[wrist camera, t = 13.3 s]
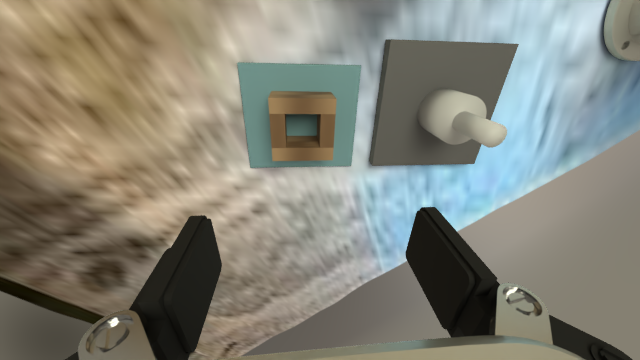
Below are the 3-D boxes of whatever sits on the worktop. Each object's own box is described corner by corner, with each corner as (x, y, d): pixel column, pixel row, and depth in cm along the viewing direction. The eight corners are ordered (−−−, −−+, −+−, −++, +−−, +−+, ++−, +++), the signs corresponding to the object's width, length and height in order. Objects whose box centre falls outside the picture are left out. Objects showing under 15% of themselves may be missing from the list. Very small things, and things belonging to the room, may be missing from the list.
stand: (507, 44, 27) (619, 43, 18) (467, 159, 34) (532, 202, 25) (385, 39, 26) (438, 37, 16) (369, 160, 32) (399, 207, 23)
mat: (360, 65, 26) (361, 65, 26) (350, 164, 32) (351, 165, 32) (238, 62, 25) (237, 62, 25) (251, 166, 31) (250, 167, 31)
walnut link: (330, 91, 27) (336, 98, 24) (328, 147, 30) (332, 160, 27) (271, 90, 26) (268, 97, 23) (274, 147, 30) (272, 161, 26)
